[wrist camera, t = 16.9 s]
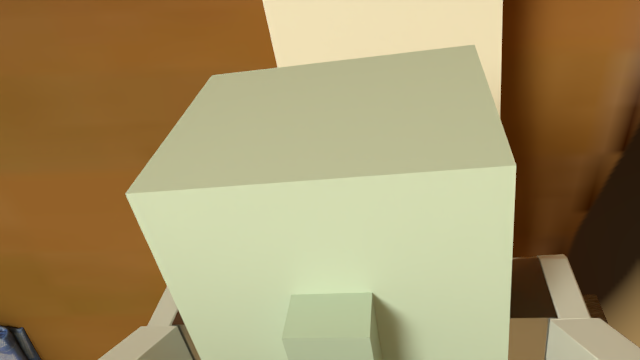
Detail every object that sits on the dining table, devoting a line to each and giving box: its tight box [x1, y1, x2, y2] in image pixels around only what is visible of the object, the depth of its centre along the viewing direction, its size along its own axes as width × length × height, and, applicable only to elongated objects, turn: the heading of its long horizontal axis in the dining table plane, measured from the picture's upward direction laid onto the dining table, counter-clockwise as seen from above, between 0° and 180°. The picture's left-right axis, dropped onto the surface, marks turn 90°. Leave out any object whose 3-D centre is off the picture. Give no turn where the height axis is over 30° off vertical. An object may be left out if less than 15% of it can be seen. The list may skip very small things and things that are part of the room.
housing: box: [263, 0, 503, 117], centre depth 30 cm, size 10×29×4 cm, turn 10°
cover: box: [125, 45, 516, 360], centre depth 10 cm, size 5×9×5 cm, turn 10°
